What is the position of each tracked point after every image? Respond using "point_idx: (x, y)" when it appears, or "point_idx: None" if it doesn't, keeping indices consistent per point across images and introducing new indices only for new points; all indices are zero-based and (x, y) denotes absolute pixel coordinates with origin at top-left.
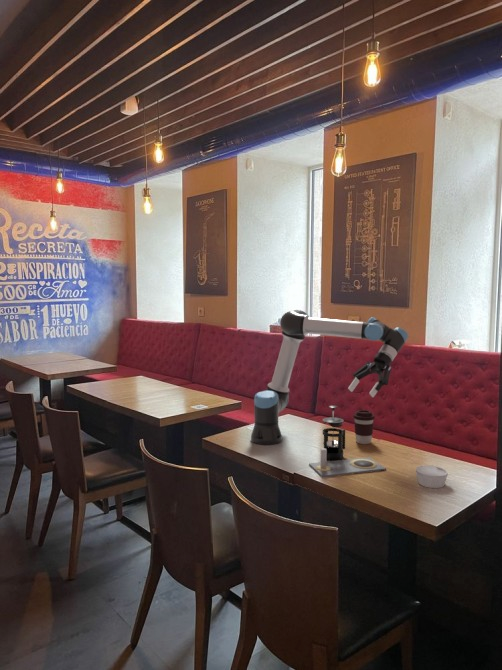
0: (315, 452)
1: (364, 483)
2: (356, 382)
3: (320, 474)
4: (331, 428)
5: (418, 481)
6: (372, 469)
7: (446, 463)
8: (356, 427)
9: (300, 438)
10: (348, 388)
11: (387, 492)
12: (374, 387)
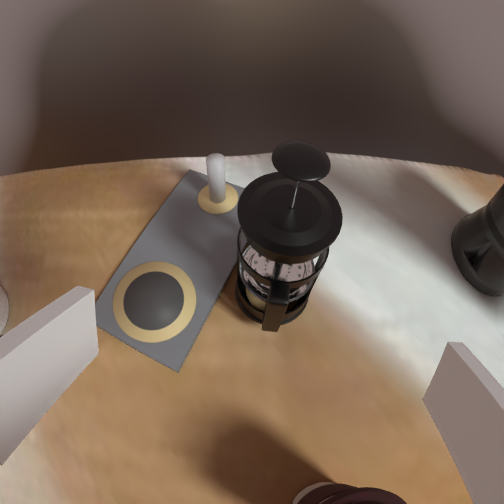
0: (344, 287)
1: (97, 211)
2: (485, 463)
3: (199, 173)
4: (320, 267)
5: (4, 291)
6: (111, 282)
7: (8, 482)
8: (350, 486)
9: (469, 344)
10: (454, 344)
11: (47, 211)
12: (18, 326)
